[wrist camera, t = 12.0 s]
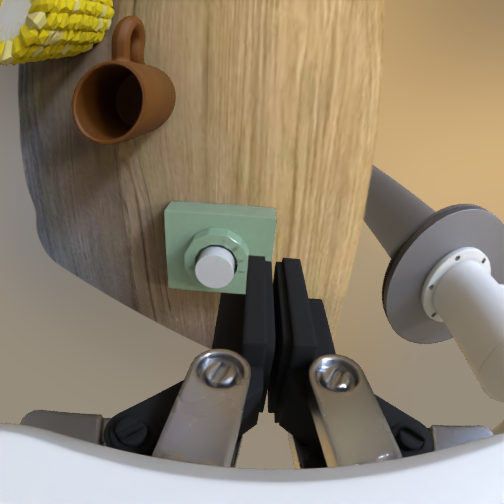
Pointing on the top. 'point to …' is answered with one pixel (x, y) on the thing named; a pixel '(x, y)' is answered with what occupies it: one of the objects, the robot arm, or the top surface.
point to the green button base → (215, 240)
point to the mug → (122, 91)
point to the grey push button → (215, 267)
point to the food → (50, 28)
